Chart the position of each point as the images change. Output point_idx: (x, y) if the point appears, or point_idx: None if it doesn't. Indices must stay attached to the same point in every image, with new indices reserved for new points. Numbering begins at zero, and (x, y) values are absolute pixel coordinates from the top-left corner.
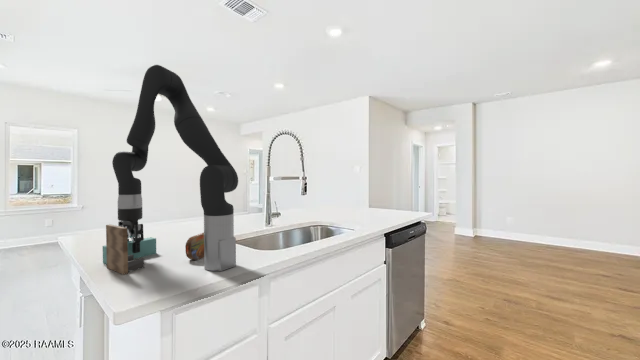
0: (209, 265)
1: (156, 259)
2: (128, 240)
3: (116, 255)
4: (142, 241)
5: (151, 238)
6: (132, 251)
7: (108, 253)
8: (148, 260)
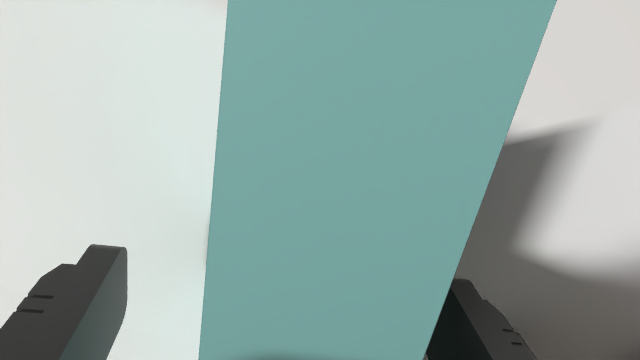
0: None
1: (631, 167)
2: (70, 349)
3: None
4: (444, 279)
5: (438, 31)
6: (426, 349)
7: None
8: (570, 222)
